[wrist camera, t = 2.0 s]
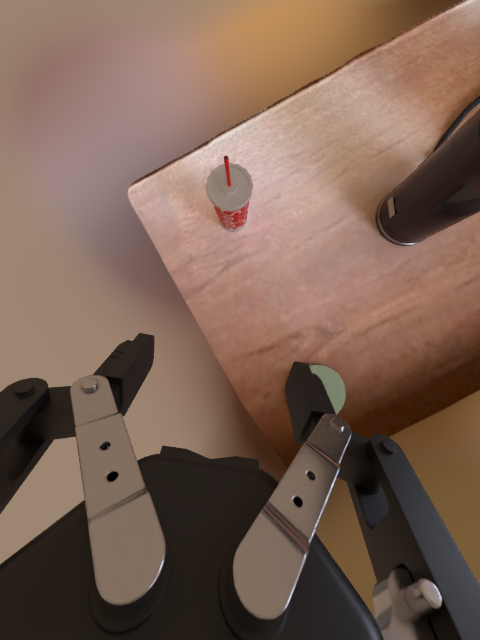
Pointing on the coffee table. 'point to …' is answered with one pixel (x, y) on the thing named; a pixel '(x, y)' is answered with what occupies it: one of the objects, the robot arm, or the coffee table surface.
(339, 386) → the coaster
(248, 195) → the beverage cup
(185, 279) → the coffee table surface
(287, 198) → the coffee table surface
